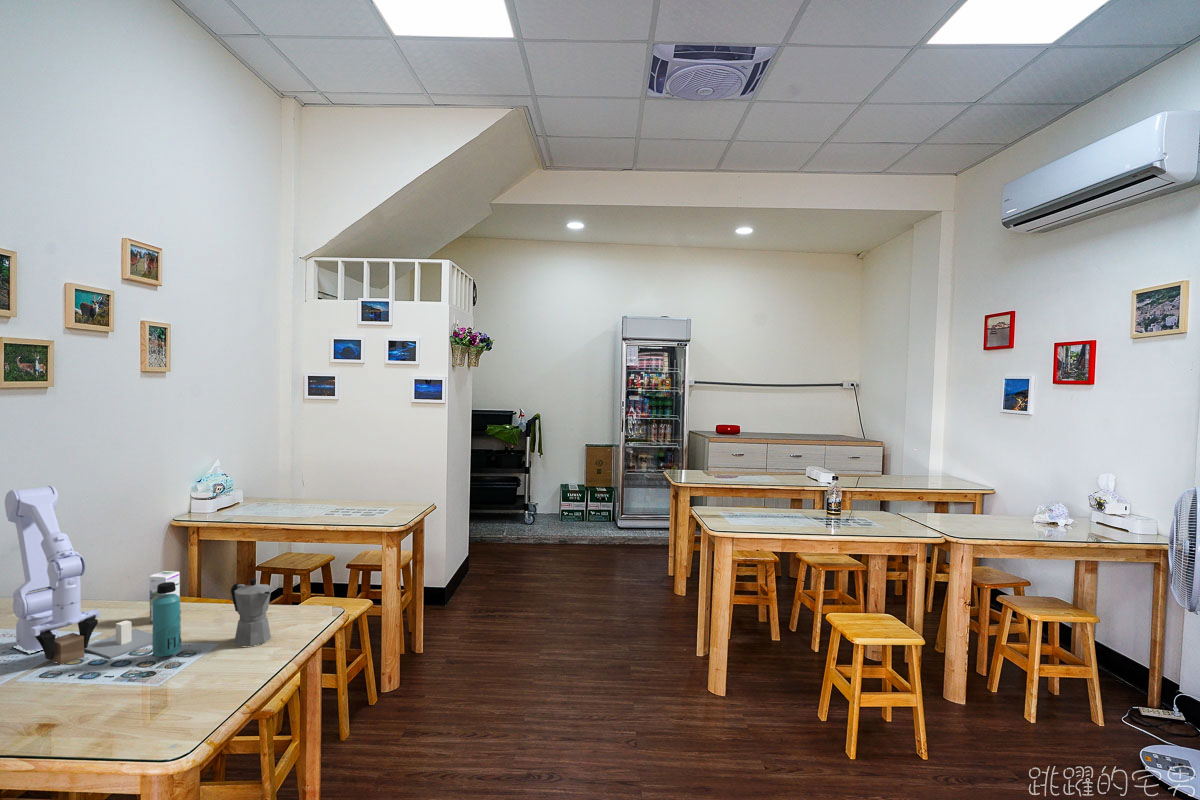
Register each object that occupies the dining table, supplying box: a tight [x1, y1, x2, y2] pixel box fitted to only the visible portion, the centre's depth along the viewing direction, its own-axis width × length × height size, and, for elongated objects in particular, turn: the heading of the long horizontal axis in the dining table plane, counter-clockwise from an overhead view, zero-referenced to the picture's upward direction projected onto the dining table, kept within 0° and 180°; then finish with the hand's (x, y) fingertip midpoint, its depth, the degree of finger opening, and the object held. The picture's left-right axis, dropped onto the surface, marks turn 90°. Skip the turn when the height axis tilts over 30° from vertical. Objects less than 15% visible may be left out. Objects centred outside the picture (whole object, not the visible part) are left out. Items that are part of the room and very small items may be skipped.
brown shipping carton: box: [50, 632, 85, 665], centre depth 164 cm, size 5×5×6 cm
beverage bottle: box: [151, 582, 182, 657], centre depth 166 cm, size 6×7×20 cm
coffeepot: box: [230, 578, 272, 647], centre depth 178 cm, size 15×9×18 cm, turn 67°
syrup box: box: [148, 570, 181, 623], centre depth 192 cm, size 6×6×14 cm
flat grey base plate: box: [84, 620, 153, 660], centre depth 174 cm, size 14×14×6 cm
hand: (67, 652), depth 164 cm, fingers open, 7 cm apart
